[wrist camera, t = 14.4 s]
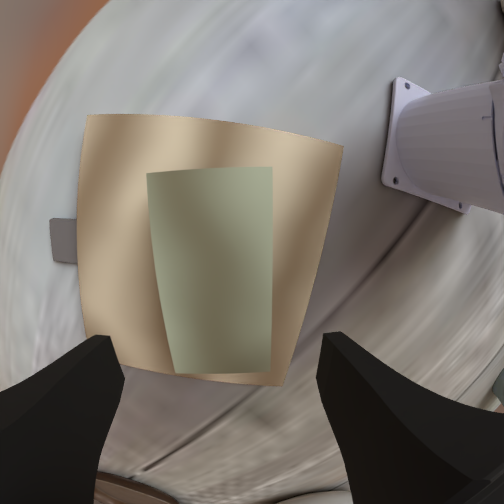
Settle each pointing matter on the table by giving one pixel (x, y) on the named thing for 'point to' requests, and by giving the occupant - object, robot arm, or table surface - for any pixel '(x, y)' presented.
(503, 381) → the green lidded jar
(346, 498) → the serving bowl
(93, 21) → the table surface
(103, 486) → the plant saucer
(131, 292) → the board
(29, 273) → the table surface
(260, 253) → the block
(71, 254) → the small gray block
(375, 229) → the table surface
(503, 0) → the canister
